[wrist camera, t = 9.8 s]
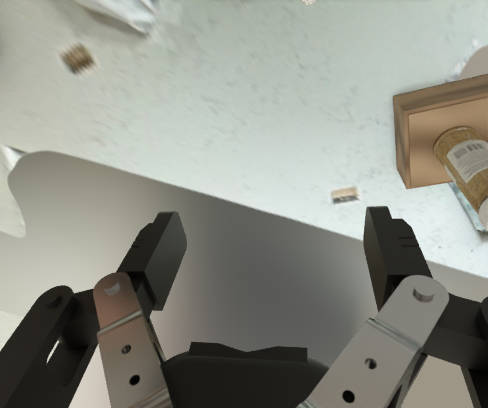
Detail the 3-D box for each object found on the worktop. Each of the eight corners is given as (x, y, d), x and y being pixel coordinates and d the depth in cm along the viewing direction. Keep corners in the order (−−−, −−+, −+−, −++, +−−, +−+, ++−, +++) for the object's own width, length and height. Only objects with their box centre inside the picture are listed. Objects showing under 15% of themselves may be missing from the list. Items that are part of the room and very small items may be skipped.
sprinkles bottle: (432, 166, 37) (485, 248, 26) (433, 129, 35) (491, 203, 24) (478, 158, 36) (553, 241, 25) (482, 120, 34) (567, 193, 23)
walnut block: (392, 96, 38) (404, 112, 34) (491, 72, 36) (517, 87, 31) (396, 168, 44) (407, 190, 39) (483, 153, 41) (504, 175, 37)
